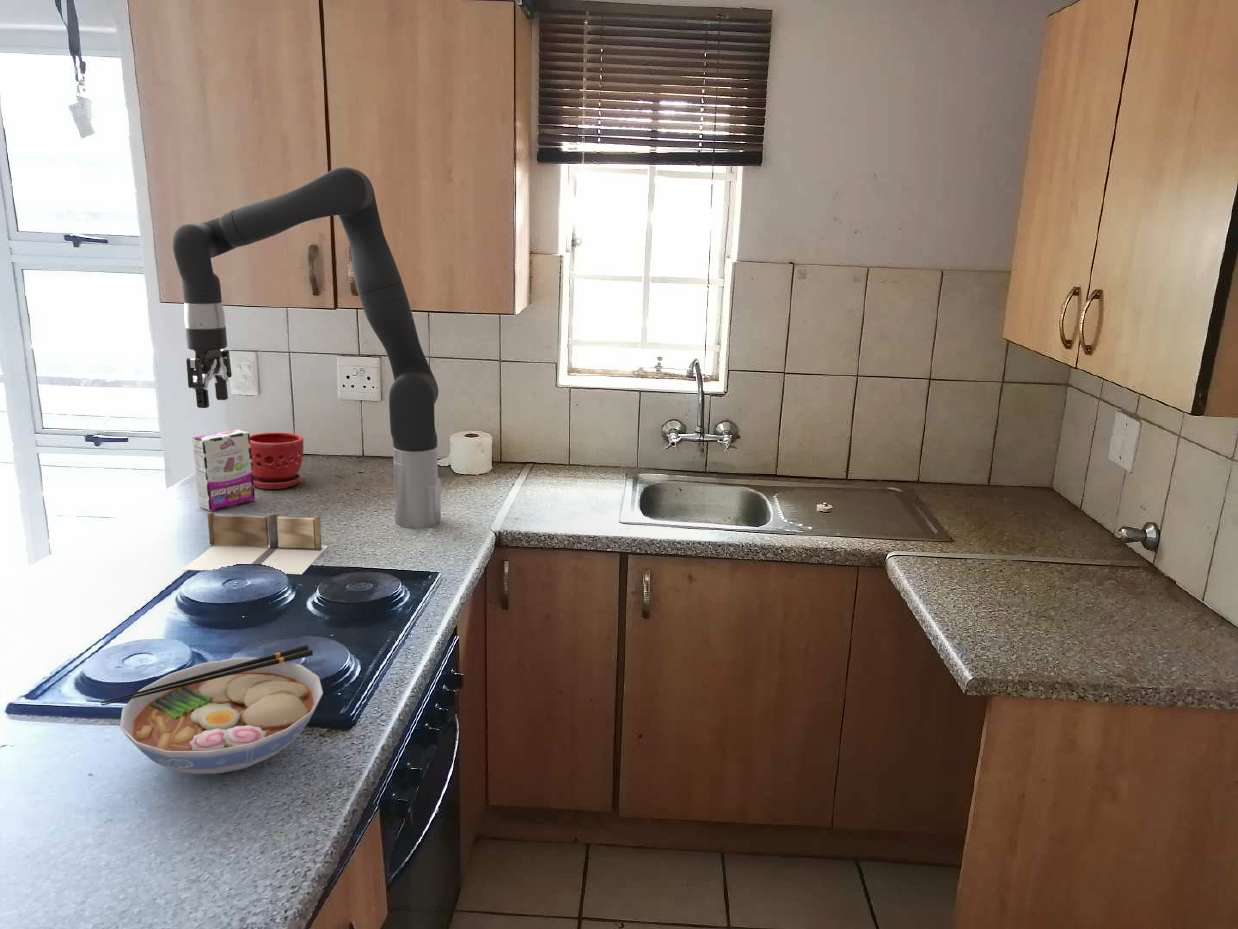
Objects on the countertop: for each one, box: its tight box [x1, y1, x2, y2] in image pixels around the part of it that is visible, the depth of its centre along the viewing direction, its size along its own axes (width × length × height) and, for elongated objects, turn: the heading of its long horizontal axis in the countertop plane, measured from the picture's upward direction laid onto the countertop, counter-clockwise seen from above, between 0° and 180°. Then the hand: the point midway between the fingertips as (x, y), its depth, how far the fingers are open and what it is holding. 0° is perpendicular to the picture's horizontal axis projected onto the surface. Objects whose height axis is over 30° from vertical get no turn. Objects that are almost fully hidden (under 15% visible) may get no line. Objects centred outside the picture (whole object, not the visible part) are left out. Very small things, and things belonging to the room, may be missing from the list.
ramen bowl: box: [100, 644, 324, 775], centre depth 112 cm, size 25×23×8 cm
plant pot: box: [249, 432, 304, 490], centre depth 222 cm, size 13×13×12 cm
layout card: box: [182, 543, 329, 575], centre depth 175 cm, size 22×15×1 cm
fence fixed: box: [267, 513, 323, 550], centre depth 180 cm, size 10×2×7 cm, turn 89°
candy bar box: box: [192, 429, 256, 512], centre depth 205 cm, size 11×5×16 cm, turn 143°
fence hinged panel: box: [206, 511, 270, 547], centre depth 180 cm, size 12×1×6 cm, turn 89°
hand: (213, 403), depth 189 cm, fingers open, 8 cm apart
